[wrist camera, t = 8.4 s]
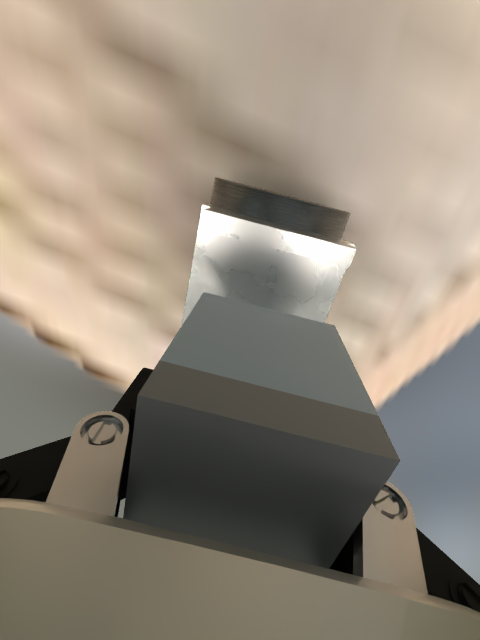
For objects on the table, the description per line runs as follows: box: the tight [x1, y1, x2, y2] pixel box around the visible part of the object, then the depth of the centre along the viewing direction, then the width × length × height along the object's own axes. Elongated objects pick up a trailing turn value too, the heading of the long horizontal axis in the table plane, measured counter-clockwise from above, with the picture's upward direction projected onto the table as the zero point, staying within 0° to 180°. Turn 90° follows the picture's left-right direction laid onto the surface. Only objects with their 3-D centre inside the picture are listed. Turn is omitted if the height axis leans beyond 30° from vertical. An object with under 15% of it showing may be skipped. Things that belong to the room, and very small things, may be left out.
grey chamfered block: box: [123, 292, 400, 569], centre depth 10 cm, size 7×5×6 cm
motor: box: [181, 177, 357, 327], centre depth 23 cm, size 14×10×13 cm
